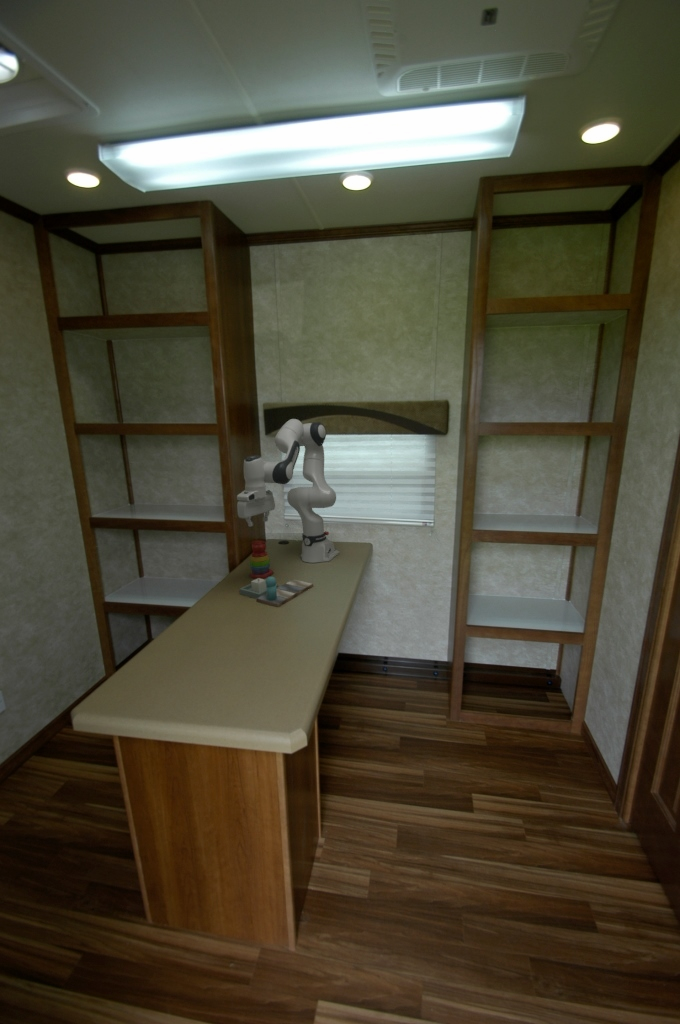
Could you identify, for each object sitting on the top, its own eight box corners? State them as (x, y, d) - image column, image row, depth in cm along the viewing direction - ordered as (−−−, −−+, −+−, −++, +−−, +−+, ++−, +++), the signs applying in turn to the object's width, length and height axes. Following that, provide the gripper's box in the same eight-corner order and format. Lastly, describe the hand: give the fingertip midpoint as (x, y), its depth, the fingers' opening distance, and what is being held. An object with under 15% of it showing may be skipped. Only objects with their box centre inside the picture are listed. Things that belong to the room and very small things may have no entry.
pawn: (271, 595, 182) (270, 574, 179) (279, 597, 179) (278, 576, 177) (264, 599, 178) (262, 577, 176) (272, 601, 176) (270, 579, 173)
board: (292, 581, 199) (292, 578, 199) (313, 586, 193) (313, 583, 192) (256, 601, 180) (256, 598, 179) (278, 607, 173) (277, 604, 173)
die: (259, 587, 192) (258, 577, 191) (266, 589, 190) (265, 579, 189) (252, 590, 189) (251, 581, 188) (259, 593, 186) (258, 583, 185)
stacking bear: (274, 571, 213) (272, 537, 209) (269, 579, 203) (266, 543, 199) (253, 571, 214) (250, 537, 210) (247, 579, 204) (244, 543, 200)
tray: (258, 584, 197) (258, 579, 197) (278, 589, 191) (278, 584, 190) (239, 594, 188) (239, 588, 187) (259, 599, 181) (259, 594, 181)
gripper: (266, 488, 198) (269, 517, 201) (233, 496, 181) (236, 528, 184) (277, 489, 194) (279, 519, 197) (244, 497, 178) (247, 530, 181)
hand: (258, 523), depth 191 cm, fingers open, 8 cm apart
